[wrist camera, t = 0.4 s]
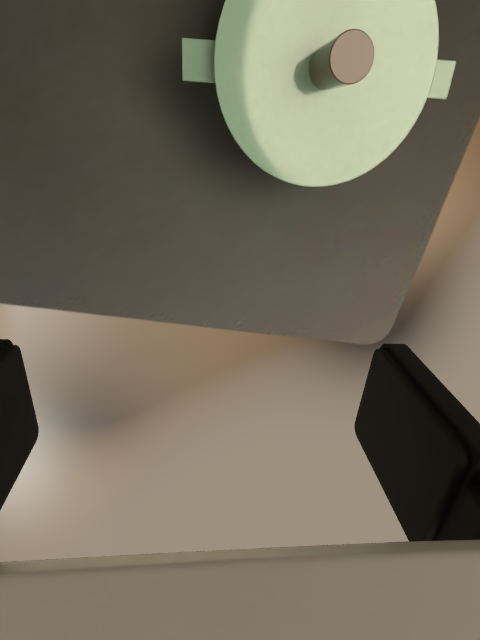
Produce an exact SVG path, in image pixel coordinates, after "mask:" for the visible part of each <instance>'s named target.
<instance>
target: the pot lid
mask: <svg viewBox="0 0 480 640" xmlns="http://www.w3.org/2000/svg"><path fill="white" fill-rule="evenodd" d="M438 46H439V23H438V15H437V7H436V2H435V0H225V3H224V6H223V9H222V12H221V16H220V19H219V23H218V28H217V34H216V39H215V49H214V79H215V86H216V93H217V97H218V101H219V105H220V109H221V112H222V115H223V117H224V120H225V122H226V125H227V127H228V129H229V131H230V132H231V134H232V136H233V138H234V140H235V141H236V142H237V144H238V145H239V147H240V148H241V149H242V151H243V152H244V153H245V154H246V155H247V156H248V157H249V158H250V159H251V161H252V162H254V163H255V164H256V165H257V166H259V167H260V168H261V169H262V170H264V171H265V172H267V173H269V174H270V175H272V176H274V177H275V178H278V179H280V180H282V181H285V182H287V183H291V184H295V185H299V186H307V187H325V186H331V185H337V184H340V183H344V182H347V181H350V180H352V179H354V178H357V177H359V176H361V175H363V174H365V173H366V172H368V171H370V170H371V169H373V168H374V167H376V166H377V165H378V164H380V163H381V162H382V161H383V160H385V159H386V158H387V157H388V156H389V155H390V154H391V153H392V152H393V151H394V150H395V149H396V148H397V147H398V146H399V144H400V143H401V142H402V141H403V140H404V138H405V137H406V136H407V134H408V133H409V131H410V130H411V128H412V127H413V125H414V124H415V122H416V120H417V118H418V116H419V115H420V113H421V111H422V109H423V107H424V104H425V102H426V99H427V97H428V94H429V92H430V88H431V85H432V82H433V78H434V74H435V69H436V64H437V57H438Z"/></svg>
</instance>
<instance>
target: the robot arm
mask: <svg viewBox="0 0 480 640" xmlns="http://www.w3.org/2000/svg"><path fill="white" fill-rule="evenodd" d="M355 432H356V435H357V438H358V440H359V442H360V444H361V446H362V448H363V450H364V452H365V454H366V456H367V458H368V460H369V462H370V464H371V466H372V468H373V470H374V472H375V474H376V476H377V478H378V480H379V482H380V484H381V486H382V488H383V490H384V492H385V494H386V496H387V498H388V500H389V502H390V504H391V506H392V508H393V510H394V512H395V514H396V516H397V518H398V520H399V522H400V524H401V526H402V528H403V530H404V532H405V534H406V536H407V538H408V540H409V542H388V543H366V544H343V545H321V546H298V547H279V548H278V547H277V548H257V549H238V550H217V551H197V552H178V553H158V554H138V555H120V556H103V557H84V558H68V559H49V560H30V561H13V562H0V640H480V424H479V423H478V421H477V420H476V419H475V418H474V417H473V416H472V415H471V414H470V413H469V412H468V411H467V410H466V409H465V407H464V406H463V405H462V404H461V403H460V402H459V401H458V400H457V399H456V398H455V397H454V396H453V395H452V394H451V392H450V391H449V390H448V389H447V388H446V387H445V386H444V385H443V384H442V383H441V382H440V381H439V380H438V379H437V378H436V376H435V375H434V374H433V373H432V372H431V371H430V370H429V369H428V368H427V367H426V366H425V365H424V364H423V362H422V361H421V360H420V359H419V358H418V357H417V356H416V355H415V354H414V353H413V352H412V351H411V349H410V348H409V347H408V346H407V345H405V344H383V345H382V346H381V347H380V349H376V350H375V352H374V354H373V358H372V361H371V365H370V369H369V373H368V376H367V380H366V384H365V388H364V391H363V395H362V399H361V402H360V406H359V410H358V413H357V417H356V421H355ZM37 437H38V424H37V419H36V415H35V410H34V406H33V402H32V397H31V394H30V390H29V385H28V381H27V376H26V372H25V367H24V363H23V359H22V355H21V351H20V348H19V347H18V346H17V345H13V344H12V342H11V341H10V340H8V339H5V340H3V339H0V510H1V508H2V506H3V504H4V502H5V500H6V498H7V496H8V494H9V492H10V490H11V489H12V487H13V485H14V483H15V481H16V479H17V477H18V475H19V473H20V471H21V469H22V467H23V466H24V464H25V461H26V460H27V458H28V456H29V454H30V452H31V450H32V448H33V446H34V444H35V443H36V440H37Z"/></svg>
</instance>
